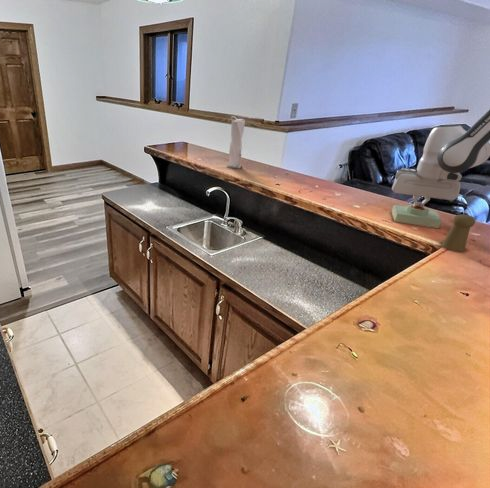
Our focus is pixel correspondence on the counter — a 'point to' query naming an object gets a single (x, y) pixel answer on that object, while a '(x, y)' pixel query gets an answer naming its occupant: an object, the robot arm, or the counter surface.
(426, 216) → the button base
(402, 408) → the counter surface
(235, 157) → the skyscraper
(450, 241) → the cork
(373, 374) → the counter surface
